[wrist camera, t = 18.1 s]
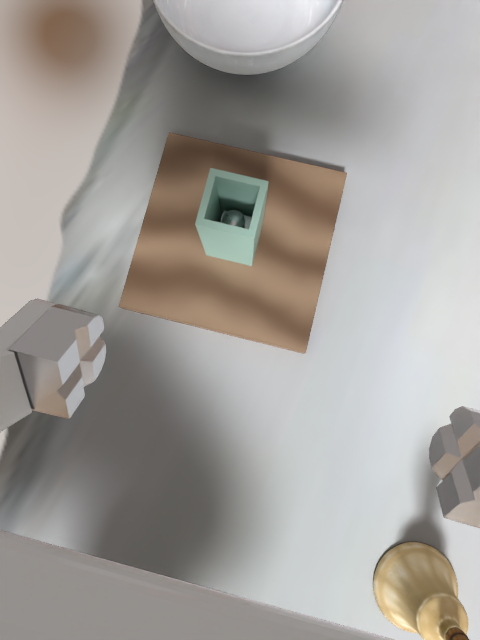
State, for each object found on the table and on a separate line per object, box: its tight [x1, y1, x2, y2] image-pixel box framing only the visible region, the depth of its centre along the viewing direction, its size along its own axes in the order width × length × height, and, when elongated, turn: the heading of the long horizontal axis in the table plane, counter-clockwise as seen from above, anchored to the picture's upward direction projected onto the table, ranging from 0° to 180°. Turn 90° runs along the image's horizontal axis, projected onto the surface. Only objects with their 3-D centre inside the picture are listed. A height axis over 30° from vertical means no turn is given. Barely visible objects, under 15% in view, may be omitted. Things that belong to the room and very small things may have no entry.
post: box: [220, 210, 252, 229], centre depth 37 cm, size 3×3×5 cm
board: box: [119, 132, 347, 353], centre depth 41 cm, size 20×20×2 cm
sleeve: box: [195, 168, 269, 266], centre depth 35 cm, size 5×5×9 cm
